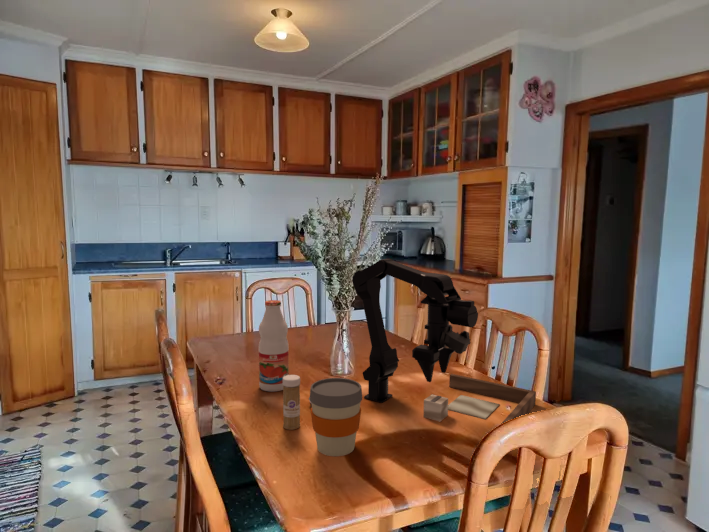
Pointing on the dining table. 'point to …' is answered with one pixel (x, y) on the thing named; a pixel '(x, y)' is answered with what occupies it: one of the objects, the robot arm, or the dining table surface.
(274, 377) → the fruit juice
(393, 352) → the robot arm
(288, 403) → the sprinkles bottle
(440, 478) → the dining table surface
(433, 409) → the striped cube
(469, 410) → the corner arena
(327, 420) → the reusable coffee cup
